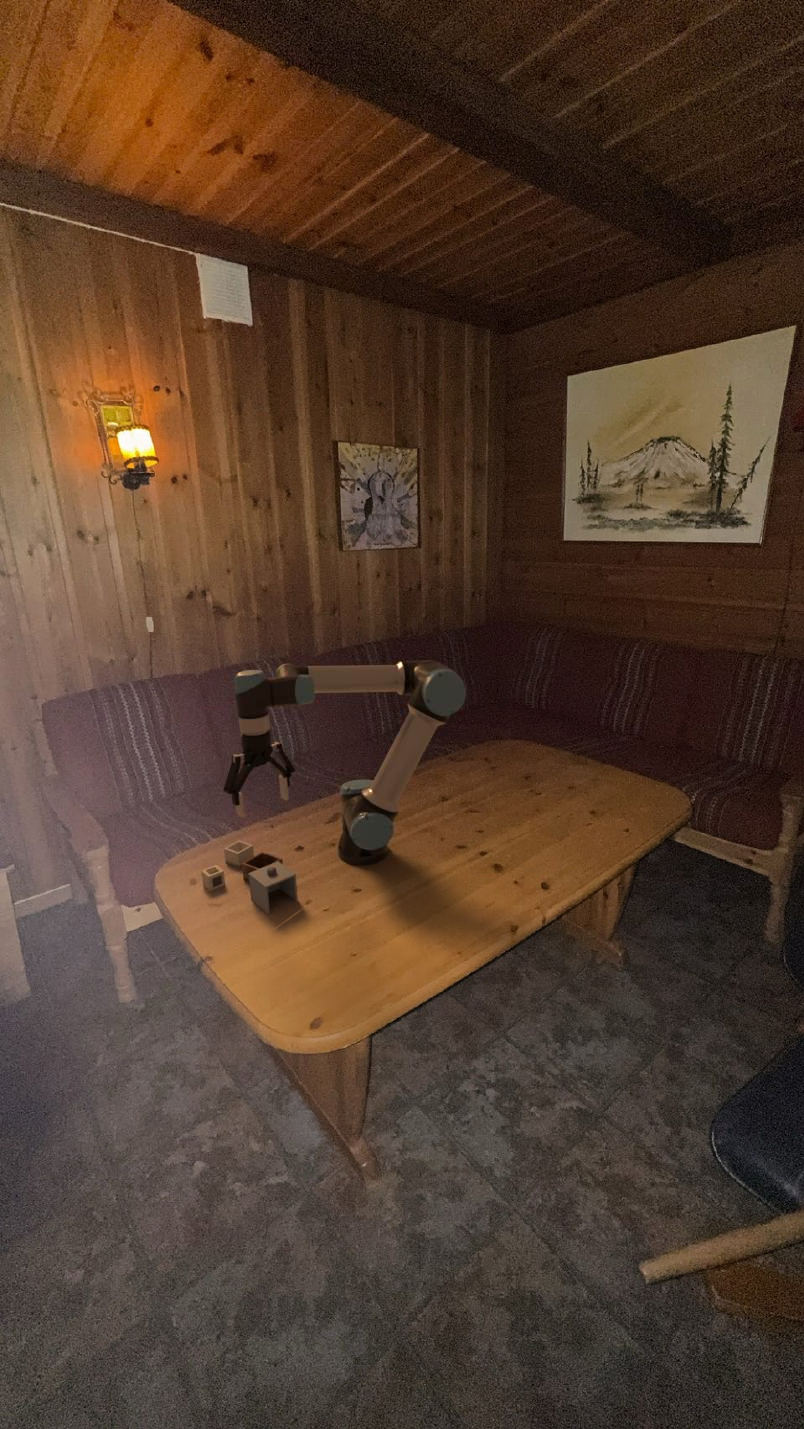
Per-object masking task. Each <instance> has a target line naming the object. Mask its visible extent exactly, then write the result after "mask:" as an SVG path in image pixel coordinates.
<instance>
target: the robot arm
mask: <svg viewBox="0 0 804 1429" xmlns="http://www.w3.org/2000/svg"><path fill="white" fill-rule="evenodd" d="M234 689H235V692H234V693H235V700H236V707H237V716H238V724H239V731H240V741H241V742H240V743H241V747H242V753H240V754H234V753H233V754H231V757H230V758H231V763H230V767H229V770H228V773H227V777H226V780H225V783H224V786H223V792H224V793H226V794H228V795H231V801H232V804H233V806H235V810H236V811H235V812H236V815H237V816H239V817H241V818H245V816H246V815H245V806H244V798H243V793H242V792H241V789H242V788H243V787H244V785H245V782H246V780H247V778H248V777H249V775H250V773H251V772H253V770H254V768H258V767H260V766H264V765H267V763H268V765H270V766H271V767H273V768H274V769H275V770H276V771H277V772H278V773H280V775H278V780H279V783H278V784H279V792H280V799H283V800H284V801H289V800H290V798H289V795H290V794H289V787H290V785H291V782H290V778H291V777H292V773H295V772H296V768H295V767H294V765H293V764H292V762H291V760H290V759H289V758H288V756H287V754H286V753H285V751H284V746H283V744H282V743H280V742H278V741H274V742H273V743H272V734H271V730H270V729H271V723H270V715H269V708H280V707H281V708H282V707H291V706H293V707H294V706H303V705H307V704H312V703H314V701H315V698H316V697H315V695H316V694H324V693H325V694H326V693H327V694H331V693H332V694H333V693H335V694H336V693H337V694H338V693H339V694H341V693H374V692H375V693H383V692H384V693H386V692H387V693H389V692H392V693H393V692H396V693H397V694H398V695H400V696H410V698H409V700H408V701H407V707H408V711H409V712H408V714H407V716H406V718H405V719H404V721H403V723H402V726H401V727H400V730H399V731H398V732H397V735H396V737H395V739H394V741H393V742H392V744H391V747H390V748H389V750H388V753H387V754H386V756H385V758H384V760H383V762H382V764H381V766H380V768H379V769H378V772H377V773H376V776H375V778H374V779H373V780H372V779H354V780H349V781H347V782H344V783H343V784H342V785H341V786H340V793H339V795H340V803H341V805H340V806H341V824H342V832H341V835H340V839H339V842H338V846H337V855H338V858H339V860H341V861H342V862H344V863H346V864H350V865H355V866H363V865H364V866H366V865H372V864H375V863H377V862H381V861H382V860H384V859H385V858H386V856H387V854H388V852H389V851H388V850H389V849H388V843H390V842H391V840H392V838H393V835H394V827H395V826H394V824H393V823H394V821H395V820H396V817H397V816H398V814H399V812H400V809H401V808H400V805H399V800H400V798H401V796H402V795H403V793H404V790H405V789H406V787H407V785H408V783H409V781H410V779H411V777H412V775H413V773H414V772H415V770H416V768H417V766H418V764H419V762H420V760H421V758H422V756H423V754H424V753H425V751H426V749H427V747H428V745H429V743H430V741H431V739H432V737H433V735H434V734H435V732H436V730H437V729H438V727H440V726H442V725H445V724H446V723H447V722H448V719H449V718H450V716H451V715H454V714H455V713H457V712H458V711H460V709H461V707H462V706H463V704H464V703H465V700H466V694H467V693H466V690H467V689H466V686H465V682H464V681H463V679H462V678H461V677H460V675H459V673H457V672H456V671H454V670H453V669H451V668H450V667H447V665H445V664H443V663H441V662H440V661H437V660H430V659H429V660H428V659H427V660H425V659H423V660H405V661H403V660H401V661H398V662H397V663H396V664H379V665H378V664H372V665H371V664H368V665H367V664H366V665H362V664H361V665H358V664H357V665H307V666H306V665H305V666H304V665H303V666H302V665H295V664H292V663H283V664H282V665H280V666H279V667H278V668H277V669H276V671H275V674H274V677H266V674H265V672H264V671H263V670H259V669H256V670H255V669H249V670H247V669H246V670H243V671H239V672H237V673H236V675H235V676H234ZM273 752H275V754H276V755H277V757H278V759H279V760H280V762H281V763H282V765H283V766H284V767H283V766H282V765H281V764H280V763H279V762H277V761H276V759H275V758H273V757H272V753H273ZM243 760H244V761H243ZM240 768H241V769H240Z"/></svg>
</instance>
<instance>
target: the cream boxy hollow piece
mask: <svg viewBox="0 0 804 1429" xmlns="http://www.w3.org/2000/svg"><path fill="white" fill-rule="evenodd" d="M200 872H201V878H202V879H201V880H202V885H203V886H204V887H205V888H207V890H209V892H211V891H213V890H216V889H219V888H221V887H224V886H225V885H226V879H225V873H224V872H225V871H224V870H223V869H222V868H221V867H220V866H218V865H217V864H215V865H213V866H211V867H210V866H209V867H208V868H205V869H202V870H201V871H200Z"/></svg>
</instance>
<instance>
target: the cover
mask: <svg viewBox="0 0 804 1429" xmlns="http://www.w3.org/2000/svg"><path fill="white" fill-rule="evenodd" d="M248 875H249V881H248V882H249V891H250V892H249V894H250V900H251V901H252V902H253V903H254V904H256V905H257V907H259V908H260V909H261V910H263V911H264V913H266V914H268V915H269V914H271V912H270V903H269V902H270V901H269V894H270V893H273V892H275V891H277V890H279V889H280V890H281V891H282V892H283V893H285V894H286V895H287V896H289V897H290V898H292V900H294V901H295V902H297V901H299V898H298V885H297V874H296V873H295V872H294V871H292V870H291V869H289V868H288V867H287V866H286V865H284V863H283V864H281V863H280V862H275V863H273V864H270V865H268V866H265V867H263V868H260V869H258V870H255V871H253V872H250V873H248Z"/></svg>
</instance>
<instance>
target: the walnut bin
mask: <svg viewBox="0 0 804 1429" xmlns="http://www.w3.org/2000/svg"><path fill="white" fill-rule="evenodd" d="M275 862H280V863H281V864H283V865H284V861H283V858H282V857H279V856H276V855H273V854H270V853H267V852H264V851H261V852H259V853H257V854H256V855H254V857H252V858H251V859H249V860H247V861H245V862H244V863H242V866H241V868H242V870H241V871H242V876H243V878H242V879H243V881H247V882H249V875H248V873H250V872H253V871H255V870H258V869H260V868H263V867H265V866H268V865H270V864H273V863H275Z"/></svg>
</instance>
